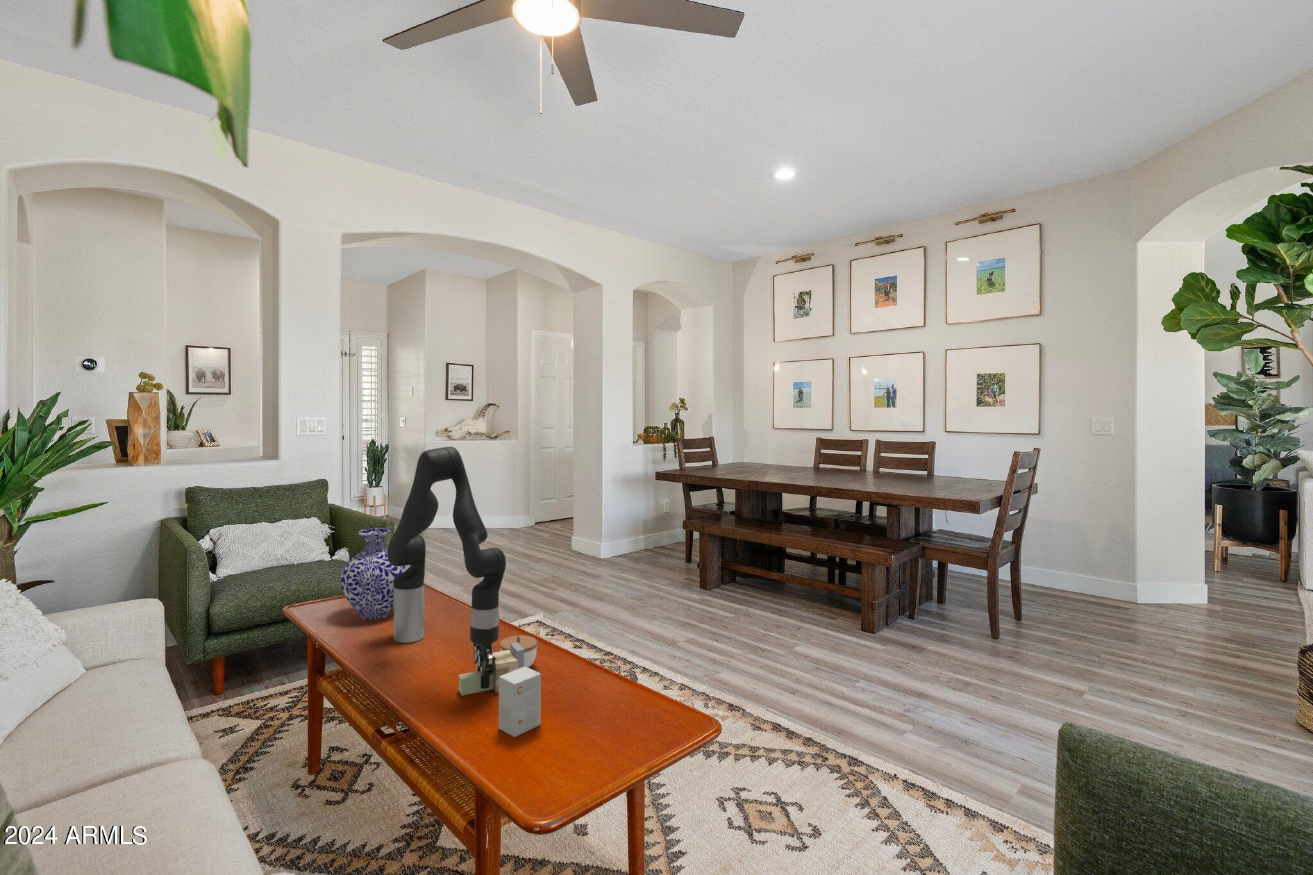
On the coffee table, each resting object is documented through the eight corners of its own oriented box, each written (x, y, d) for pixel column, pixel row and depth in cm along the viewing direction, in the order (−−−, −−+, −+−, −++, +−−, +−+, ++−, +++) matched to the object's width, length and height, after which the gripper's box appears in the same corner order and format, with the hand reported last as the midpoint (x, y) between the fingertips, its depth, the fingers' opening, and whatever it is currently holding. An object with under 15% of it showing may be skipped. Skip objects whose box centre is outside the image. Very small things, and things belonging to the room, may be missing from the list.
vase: (353, 605, 242) (352, 525, 240) (414, 605, 245) (413, 525, 242) (331, 626, 221) (330, 538, 219) (397, 625, 223) (397, 538, 221)
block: (487, 680, 183) (487, 653, 183) (508, 676, 186) (509, 649, 186) (496, 692, 176) (496, 664, 176) (517, 688, 179) (518, 660, 179)
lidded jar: (544, 664, 195) (544, 633, 194) (522, 678, 185) (522, 646, 185) (514, 657, 199) (514, 627, 199) (491, 671, 190) (491, 639, 189)
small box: (524, 716, 164) (525, 665, 163) (541, 725, 160) (541, 673, 159) (497, 728, 158) (498, 675, 157) (514, 738, 154) (514, 684, 153)
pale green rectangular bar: (458, 690, 177) (458, 674, 177) (502, 681, 183) (502, 666, 183) (461, 695, 174) (461, 679, 174) (506, 686, 180) (506, 670, 180)
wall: (510, 677, 185) (510, 643, 185) (516, 676, 186) (517, 642, 186) (516, 686, 180) (517, 650, 180) (523, 685, 181) (524, 649, 181)
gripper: (464, 616, 182) (462, 677, 183) (477, 633, 170) (475, 698, 171) (491, 612, 185) (489, 672, 187) (506, 629, 173) (504, 693, 174)
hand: (483, 684), depth 179 cm, fingers closed on pale green rectangular bar, 3 cm apart
